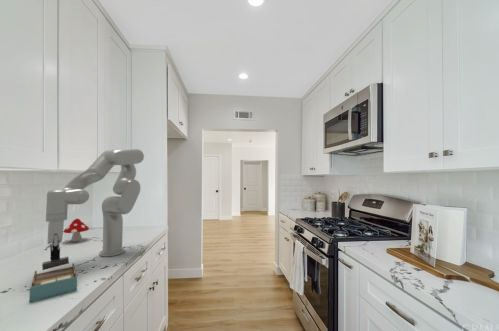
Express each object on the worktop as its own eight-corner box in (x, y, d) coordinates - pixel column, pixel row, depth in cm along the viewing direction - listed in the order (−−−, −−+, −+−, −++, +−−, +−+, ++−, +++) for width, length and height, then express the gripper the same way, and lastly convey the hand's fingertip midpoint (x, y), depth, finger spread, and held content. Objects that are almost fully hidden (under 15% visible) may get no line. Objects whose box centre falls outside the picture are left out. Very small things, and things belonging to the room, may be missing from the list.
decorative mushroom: (81, 237, 162) (82, 216, 162) (94, 239, 156) (94, 217, 157) (58, 243, 149) (59, 219, 149) (71, 245, 143) (72, 221, 144)
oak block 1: (41, 280, 86) (40, 284, 83) (55, 277, 88) (55, 281, 85) (41, 291, 86) (40, 295, 83) (55, 288, 88) (55, 292, 85)
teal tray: (31, 293, 85) (32, 279, 85) (75, 282, 94) (75, 270, 94) (29, 302, 79) (29, 287, 79) (76, 290, 87) (77, 276, 87)
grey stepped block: (42, 268, 103) (41, 245, 103) (68, 261, 109) (67, 240, 108) (42, 270, 100) (41, 247, 100) (68, 263, 106) (67, 241, 106)
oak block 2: (57, 276, 89) (57, 280, 86) (70, 274, 91) (70, 277, 88) (57, 287, 89) (56, 291, 86) (70, 284, 91) (70, 288, 88)
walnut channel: (34, 279, 97) (35, 270, 97) (73, 271, 105) (73, 263, 105) (31, 292, 86) (31, 283, 86) (75, 282, 94) (75, 273, 94)
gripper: (46, 215, 109) (44, 255, 108) (45, 220, 97) (43, 265, 96) (66, 213, 114) (65, 251, 113) (67, 218, 101) (66, 261, 100)
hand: (55, 257), depth 104 cm, fingers closed on grey stepped block, 3 cm apart
